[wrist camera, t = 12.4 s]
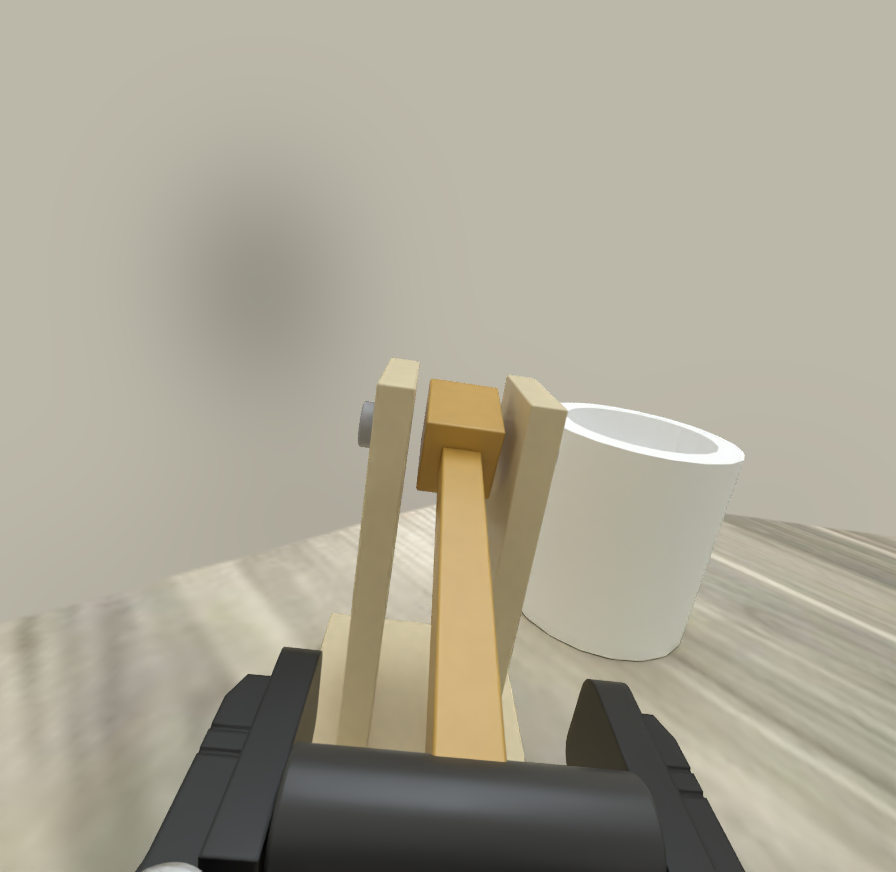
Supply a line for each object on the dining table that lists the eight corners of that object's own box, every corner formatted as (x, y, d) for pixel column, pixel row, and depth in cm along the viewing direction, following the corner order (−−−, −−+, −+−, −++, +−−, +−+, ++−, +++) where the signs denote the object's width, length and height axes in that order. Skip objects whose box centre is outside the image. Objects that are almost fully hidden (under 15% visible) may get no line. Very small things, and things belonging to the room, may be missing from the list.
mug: (483, 670, 23) (529, 452, 19) (437, 550, 32) (463, 390, 29) (724, 656, 26) (796, 470, 23) (619, 552, 36) (659, 410, 32)
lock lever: (627, 940, 7) (698, 878, 6) (265, 917, 7) (257, 845, 5) (523, 454, 17) (540, 393, 16) (380, 434, 17) (387, 371, 16)
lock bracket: (538, 899, 14) (674, 453, 10) (257, 879, 14) (285, 399, 10) (496, 651, 24) (557, 370, 20) (329, 634, 23) (358, 340, 19)
